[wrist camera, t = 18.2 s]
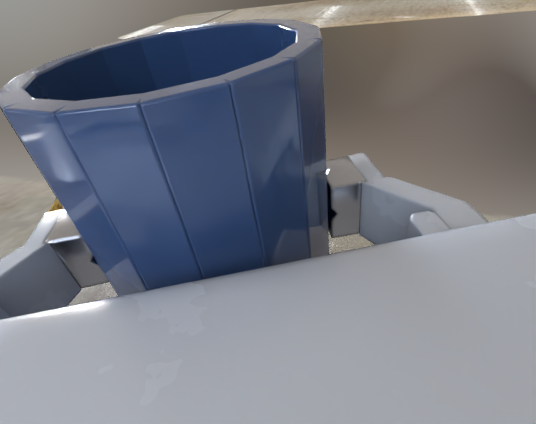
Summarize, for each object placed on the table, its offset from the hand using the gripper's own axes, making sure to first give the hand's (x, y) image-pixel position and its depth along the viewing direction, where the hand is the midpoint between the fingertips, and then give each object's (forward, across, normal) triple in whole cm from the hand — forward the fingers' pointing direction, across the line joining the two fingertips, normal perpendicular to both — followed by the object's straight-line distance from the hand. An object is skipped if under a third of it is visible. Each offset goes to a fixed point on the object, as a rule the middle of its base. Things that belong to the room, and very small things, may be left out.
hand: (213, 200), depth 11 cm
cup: (-1, 0, +6) cm, 6 cm away
